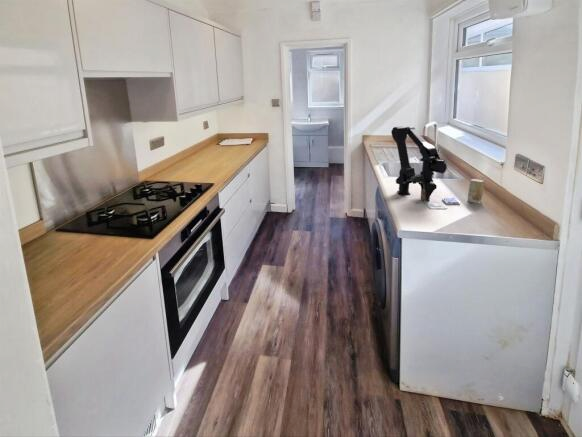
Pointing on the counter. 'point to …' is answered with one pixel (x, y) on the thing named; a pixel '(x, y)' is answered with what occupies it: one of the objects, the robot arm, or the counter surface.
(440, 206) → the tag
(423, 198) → the stamp
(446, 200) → the tray
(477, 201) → the skincare box
